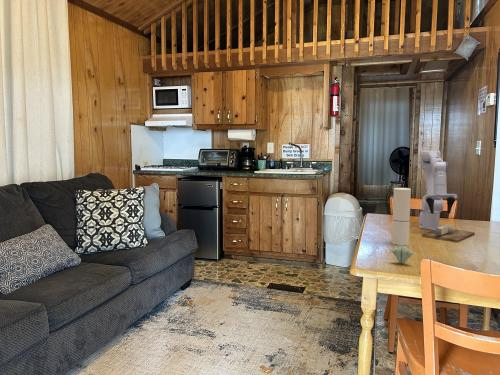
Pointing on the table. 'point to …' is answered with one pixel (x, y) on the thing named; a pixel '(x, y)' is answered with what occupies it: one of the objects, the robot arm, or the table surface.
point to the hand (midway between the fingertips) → (440, 213)
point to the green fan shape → (402, 254)
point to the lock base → (450, 235)
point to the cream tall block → (401, 216)
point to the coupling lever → (443, 229)
